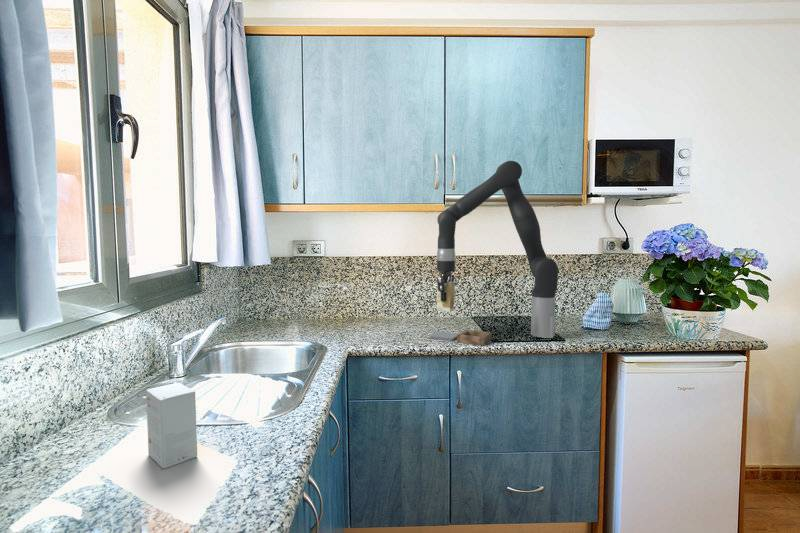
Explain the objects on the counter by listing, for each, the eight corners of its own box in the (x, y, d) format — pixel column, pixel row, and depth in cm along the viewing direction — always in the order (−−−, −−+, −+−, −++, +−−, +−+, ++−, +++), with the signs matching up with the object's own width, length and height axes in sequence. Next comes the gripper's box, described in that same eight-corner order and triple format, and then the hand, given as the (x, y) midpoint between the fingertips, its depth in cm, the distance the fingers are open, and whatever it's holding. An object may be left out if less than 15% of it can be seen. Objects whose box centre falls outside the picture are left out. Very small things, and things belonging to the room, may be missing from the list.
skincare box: (436, 310, 181) (436, 281, 180) (440, 309, 184) (440, 280, 184) (450, 312, 178) (451, 282, 177) (454, 310, 181) (454, 281, 181)
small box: (198, 457, 84) (196, 391, 83) (162, 470, 79) (159, 400, 78) (181, 443, 89) (179, 381, 88) (147, 454, 85) (144, 389, 84)
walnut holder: (491, 339, 177) (491, 332, 177) (483, 345, 168) (483, 338, 167) (465, 336, 182) (466, 329, 182) (456, 342, 173) (457, 335, 172)
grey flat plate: (460, 335, 184) (460, 333, 184) (452, 341, 175) (452, 338, 175) (438, 333, 189) (438, 331, 189) (429, 338, 180) (429, 335, 180)
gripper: (448, 260, 171) (447, 303, 173) (460, 258, 184) (460, 299, 185) (430, 260, 175) (430, 302, 176) (444, 258, 188) (443, 297, 189)
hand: (445, 300), depth 181 cm, fingers closed on skincare box, 4 cm apart
